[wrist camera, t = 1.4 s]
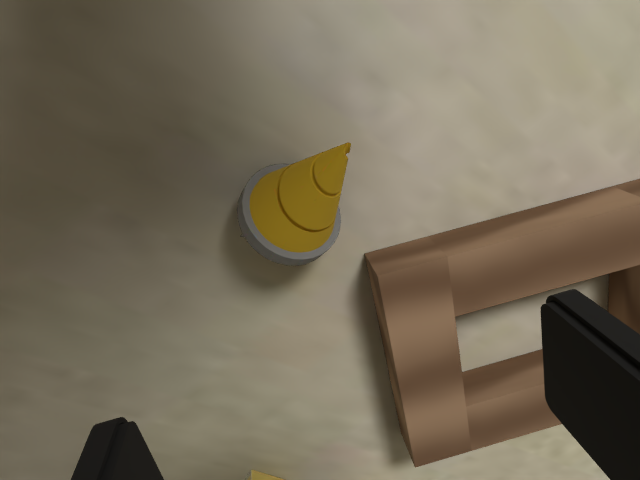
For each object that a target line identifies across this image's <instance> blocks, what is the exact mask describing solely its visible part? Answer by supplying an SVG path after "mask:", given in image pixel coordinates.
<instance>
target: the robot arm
mask: <svg viewBox="0 0 640 480" xmlns="http://www.w3.org/2000/svg"><path fill="white" fill-rule="evenodd" d="M541 327H542V348H543V369H544V390H545V399H546V402H547V404H548V406H549V408H550V410H551V411H552V412H553V414H554V415H555V416H556V417H557V418H558V419H559V421H560V422H561V423H562V424H563V425H564V426H565V428H566V429H567V430H568V431H569V432H570V433H571V435H572V436H573V437H574V438H575V439H576V440H577V441H578V443H579V444H580V445H581V446H582V447H583V448H584V450H585V451H586V452H587V453H588V454H589V455H590V457H591V458H592V459H593V460H594V461H595V462H596V464H597V465H598V466H599V467H600V468H601V469H602V470H603V472H604V473H605V474H606V475H607V476H608V477H609V479H610V480H640V334H639V333H637V332H636V331H634V330H633V329H632V328H630V327H629V326H627V325H626V324H624V323H623V322H622V321H620V320H619V319H617V318H616V317H615V316H613V315H612V314H610V313H609V312H607V311H606V310H605V309H603V308H602V307H600V306H599V305H597V304H596V303H595V302H593V301H592V300H590V299H589V298H588V297H586V296H585V295H583V294H582V293H580V292H579V291H577V290H573V289H572V290H568V291H565V292H561V293H558V294H554V295H551V296H549V297H548V298H547V300H546V304H543V305H542V306H541ZM71 480H164V479H163V477H162V475H161V473H160V471H159V469H158V467H157V465H156V463H155V461H154V459H153V457H152V455H151V453H150V451H149V449H148V447H147V445H146V443H145V441H144V439H143V437H142V435H141V433H140V430H139V428H138V426H137V425H136V423H135V422H134V421H131V422H127V420H126V419H125V418H124V417H120V418H116V419H113V420H109V421H106V422H102V423H99V424H96V425H94V426H93V428H92V430H91V432H90V434H89V437H88V439H87V442H86V444H85V447H84V449H83V451H82V454H81V456H80V459H79V461H78V464H77V466H76V469H75V471H74V473H73V476H72V478H71Z"/></svg>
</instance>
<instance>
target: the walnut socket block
mask: <svg viewBox="0 0 640 480" xmlns="http://www.w3.org/2000/svg"><path fill="white" fill-rule="evenodd" d="M365 258H366V263H367V268H368V273H369V278H370V283H371V287H372V292H373V297H374V302H375V307H376V312H377V317H378V322H379V327H380V332H381V336H382V341H383V346H384V351H385V356H386V361H387V366H388V371H389V376H390V380H391V385H392V390H393V395H394V400H395V405H396V410H397V415H398V420H399V424H400V429H401V434H402V436H403V439H404V441H405V444H406V446H407V449H408V451H409V454H410V456H411V459H412V461H413V463H414V466H415V467H418V466H422V465H425V464H428V463H432V462H435V461H439V460H442V459H445V458H449V457H452V456H455V455H459V454H462V453H465V452H469V451H472V450H476V449H479V448H482V447H486V446H489V445H492V444H496V443H499V442H502V441H506V440H509V439H513V438H516V437H519V436H523V435H526V434H529V433H533V432H536V431H539V430H543V429H546V428H550V427H553V426H556V425H560V424H562V423H561V422H560V421H559V419H558V418H557V417H556V416H555V415H554V414H553V412H552V411H551V410H550V408H549V406H548V404H547V402H546V399H545V390H544V369H543V349H541V350H538V351H535V352H531V353H528V354H524V355H521V356H517V357H514V358H510V359H507V360H503V361H500V362H496V363H493V364H489V365H486V366H482V367H479V368H476V369H472V370H469V371H465V372H462V370H461V362H460V354H459V346H458V338H457V329H456V321H455V317H456V316H459V315H463V314H467V313H470V312H474V311H477V310H481V309H484V308H488V307H491V306H495V305H499V304H502V303H506V302H509V301H513V300H516V299H520V298H523V297H527V296H531V295H534V294H538V293H541V292H545V291H548V290H552V289H555V288H559V287H562V286H566V285H570V284H573V283H577V282H580V281H584V280H587V279H591V278H594V277H598V276H602V275H605V274H609V297H608V312H609V313H610V314H612V315H613V316H615V317H616V318H617V319H619V320H620V321H622V322H623V323H624V324H626V325H627V326H629V327H630V328H632V329H633V330H634V331H636V332H637V333H639V334H640V179H638V180H634V181H630V182H627V183H623V184H619V185H616V186H612V187H608V188H605V189H601V190H597V191H594V192H590V193H586V194H582V195H579V196H575V197H571V198H568V199H564V200H560V201H557V202H553V203H549V204H546V205H542V206H538V207H535V208H531V209H527V210H524V211H520V212H516V213H513V214H509V215H505V216H501V217H498V218H494V219H490V220H487V221H483V222H479V223H476V224H472V225H468V226H465V227H461V228H457V229H454V230H450V231H446V232H443V233H439V234H435V235H431V236H428V237H424V238H420V239H417V240H413V241H409V242H406V243H402V244H398V245H395V246H391V247H387V248H384V249H380V250H376V251H373V252H369V253H365Z"/></svg>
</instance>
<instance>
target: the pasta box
mask: <svg viewBox="0 0 640 480" xmlns="http://www.w3.org/2000/svg"><path fill="white" fill-rule="evenodd" d="M245 480H284V479H281V478H278V477H274V476H271V475H268V474H264V473H261V472H258V471H254V470H251V471H250V472H249V474H248V475H247V477H246V478H245Z"/></svg>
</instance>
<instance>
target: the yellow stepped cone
mask: <svg viewBox="0 0 640 480" xmlns="http://www.w3.org/2000/svg"><path fill="white" fill-rule="evenodd" d="M350 146H351V143H345V144H343V145H340V146H337V147H335V148H332V149H330V150H327V151H325V152H322V153H319V154H317V155H314V156H312V157H309V158H307V159H304V160H301V161H299V162H296V163H294V164H291V165H289V164H275V165H271V166H268V167H265V168H263V169H261V170H259V171H258V172H257V173H256V174H254V175H253V176H252V177H251V179H250V180H249V182H248V183H247V185H246V186H245V188H244V190H243V191H242V193H241V196H240V198H239V201H238V208H237V214H238V222H239V225H240V229H241V231H242V235H241V237H245V239H246V240H247V241H248V243H249V244H250V245H251V246H252V247H253V248H254V249H255V250H256V251H257V252H258V253H259V254H261V255H262V256H264V257H265V258H267V259H268V260H271V261H273V262H275V263H278V264H283V265H288V266H298V265H304V264H307V263H310V262H312V261H314V260H316V259H317V258H318V257H320V256H321V255H322V254H324V253H325V252H326V251H327V250H328V249H329V248H330V247H331V246H332V245H333V244H334V242H335V240H336V238H337V236H338V234H339V230H340V223H341V216H340V209H339V206H338V204H339V199H340V194H341V189H342V185H343V180H344V175H345V171H346V166H347V161H348V158H347V156H346V154H347V153H349V151H350Z"/></svg>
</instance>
